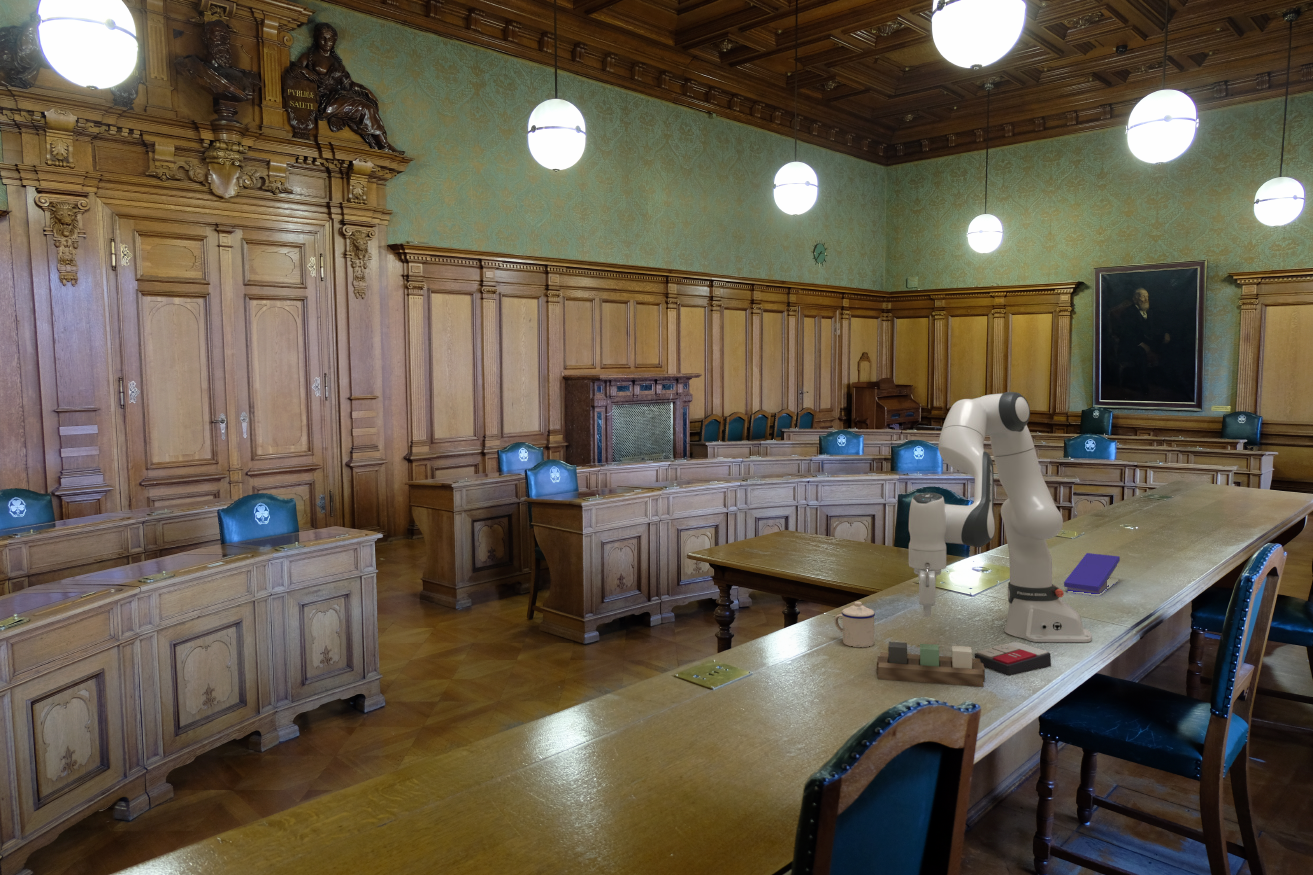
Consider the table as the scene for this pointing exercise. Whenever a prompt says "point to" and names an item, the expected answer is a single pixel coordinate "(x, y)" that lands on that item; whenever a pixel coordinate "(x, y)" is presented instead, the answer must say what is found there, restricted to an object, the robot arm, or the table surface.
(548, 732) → the table surface
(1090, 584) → the purple sloped board
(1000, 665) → the push button box
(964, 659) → the cream white block
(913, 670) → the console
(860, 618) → the teacup with lid
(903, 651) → the dark grey block
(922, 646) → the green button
